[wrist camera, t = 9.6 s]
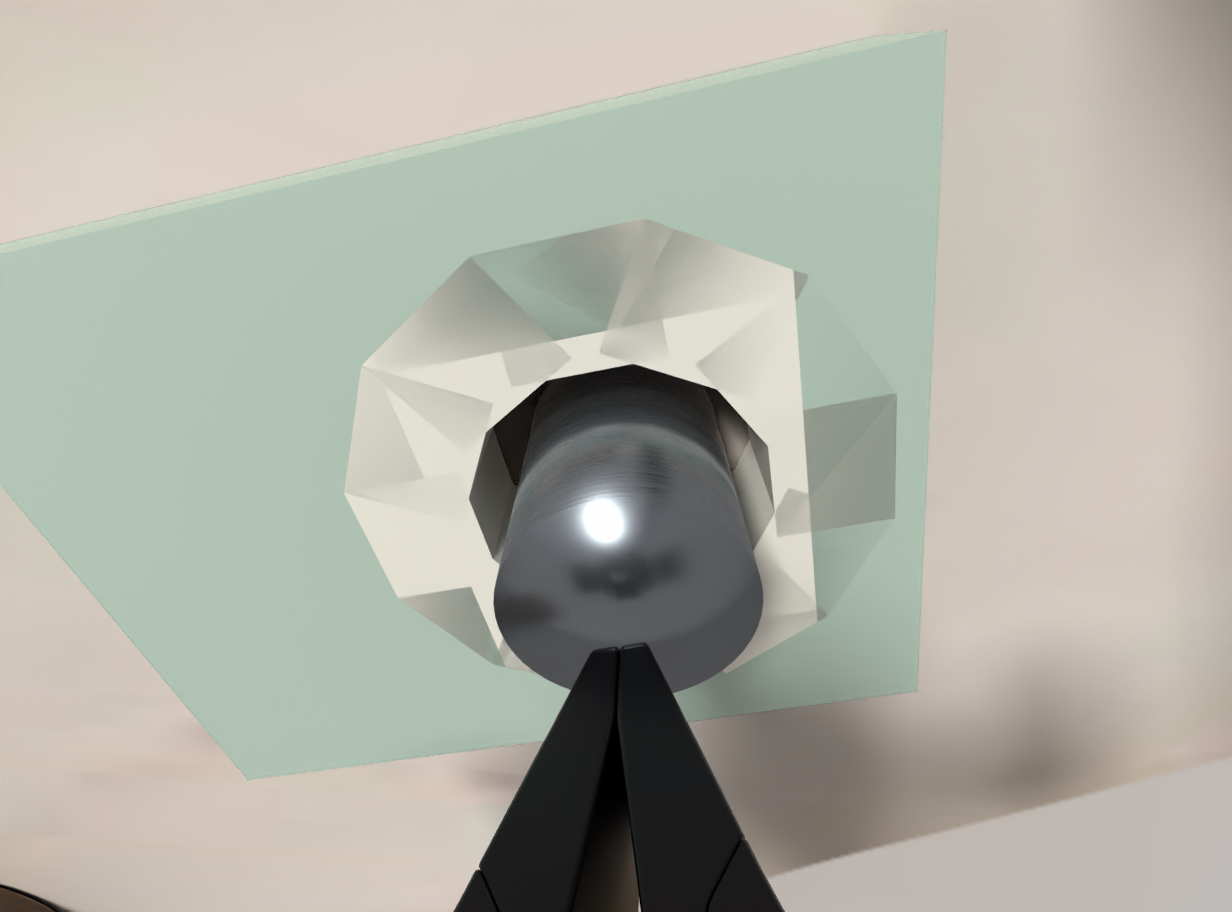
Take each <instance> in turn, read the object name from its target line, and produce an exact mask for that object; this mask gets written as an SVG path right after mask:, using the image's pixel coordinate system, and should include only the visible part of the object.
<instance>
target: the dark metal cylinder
mask: <svg viewBox="0 0 1232 912" xmlns="http://www.w3.org/2000/svg"><path fill="white" fill-rule="evenodd" d="M493 606H494V612H495V618H496V621H497V624H498V628H499V630H500V632H501V634H502V636H503V638H504V640H505V642H506V643H507V645H508V646H509V647H510V649H511V650H512V652H513V653H514V654H515V655H516V656H517V657H518V658H519V659H520V660H521V661H522V662H523V663H524V664H525V665H526V666H528V667H529V668H530V669H531V670H533V671H534V672H536V673H537V674H539V675H540V676H542V677H543V678H545V679H547V680H549V681H551V682H553V683H555V684H557V685H559V686H561V687H564V688H567V689H569V690H571V689H572V687H573V685H574V683H575V681H576V679H577V677H578V676H579V674H580V672H581V670H582V668H583V666H584V664H585V662H586V660H587V658H588V657H589V655H590V653H591V652H592V651H593V650H595V649H601V648H608V647H618V648H619V649H621V647H622V646H623V645H628V644H635V643H642V642H645V643H647V644H648V645H649V647H650V649H651V651H652V653H653V655H654V657H655V659H656V661H657V663H658V665H659V667H660V669H661V671H662V673H663V675H664V677H665V679H666V681H667V683H668V685H669V687H670V689H671V691H672V693H675V692H679V691H682V690H685V689H688V688H690V687H693V686H695V685H698V684H700V683H702V682H704V681H706V680H708V679H710V678H711V677H713V676H714V675H716V674H718V673H719V672H721V671H722V670H724V669H725V668H726V667H727V666H728V665H730V664H731V663H732V662H733V661H734V660H735V659H736V658H737V657H738V656H739V655H740V654H741V653H742V652H743V651H744V649H745V648H746V647H747V645H748V644H749V642H750V641H751V640H752V638H753V636H754V634H755V632H756V630H757V628H758V625H759V622H760V619H761V616H762V609H763V587H762V583H761V578H760V574H759V571H758V567H757V563H756V560H755V556H754V553H753V549H752V546H751V542H750V538H749V535H748V531H747V528H746V524H745V520H744V517H743V513H742V510H741V506H740V503H739V499H738V495H737V492H736V488H735V485H734V481H733V478H732V474H731V470H730V467H729V463H728V460H727V456H726V452H725V449H724V445H723V442H722V438H721V435H720V431H719V427H718V424H717V420H716V417H715V413H714V410H713V406H712V403H711V401H710V398H709V395H708V393H707V392H706V390H705V388H704V387H703V385H701V384H698V383H695V382H691V381H688V380H685V379H682V378H678V377H675V376H672V375H668V374H665V373H662V372H659V371H655V370H652V369H649V368H646V367H642V366H639V365H636V364H629V365H624V366H619V367H614V368H609V369H604V370H598V371H593V372H588V373H583V374H578V375H573V376H567V377H562V378H557V379H552V380H550V381H549V383H548V384H547V385H546V387H545V388H544V390H543V392H542V394H541V396H540V398H539V400H538V403H537V406H536V409H535V414H534V418H533V422H532V427H531V431H530V435H529V440H528V444H527V448H526V453H525V457H524V461H523V466H522V470H521V475H520V479H519V483H518V488H517V492H516V496H515V501H514V505H513V509H512V514H511V518H510V522H509V527H508V531H507V535H506V540H505V544H504V548H503V553H502V557H501V561H500V566H499V570H498V574H497V579H496V584H495V588H494V600H493Z"/></svg>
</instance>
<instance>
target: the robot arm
mask: <svg viewBox="0 0 1232 912" xmlns="http://www.w3.org/2000/svg"><path fill="white" fill-rule="evenodd" d="M479 868H480V870H481V871H480V870H476V871H475V872H474V874H473V876H472V878H471V880H470V882H469V884H468V886H467V888H466V890H465V891H464V893H463V895H462V897H461V899H460V901H459V903H458V904H457V906H456V908H455V910H454V912H638V905H639V900H640V907H641V912H785V911H784V909H783V908H782V906H781V904H780V902H779V901H778V899H777V897H776V895H775V893H774V891H773V889H772V888H771V886H770V884H769V882H768V880H767V878H766V876H765V875H764V873H763V871H762V869H761V867H760V865H759V863H758V861H757V859H756V857H755V855H754V853H753V851H752V849H751V847H750V845H749V843H748V842H747V841H746V840H745V837H744V834H743V832H742V830H741V828H740V826H739V824H738V822H737V820H736V818H735V816H734V814H733V812H732V810H731V808H730V806H729V804H728V802H727V800H726V798H725V796H724V794H723V792H722V790H721V788H720V786H719V784H718V782H717V780H716V778H715V776H714V774H713V772H712V770H711V768H710V766H709V764H708V762H707V760H706V758H705V756H704V754H703V752H702V750H701V748H700V746H699V744H698V742H697V740H696V738H695V736H694V734H693V732H692V730H691V728H690V726H689V724H688V722H687V720H686V718H685V716H684V714H683V712H682V711H681V709H680V707H679V705H678V703H677V701H676V699H675V697H674V695H673V693H672V691H671V689H670V687H669V685H668V683H667V681H666V679H665V677H664V675H663V673H662V671H661V669H660V667H659V665H658V663H657V661H656V659H655V657H654V655H653V653H652V651H651V649H650V647H649V645H648V644H647V643H645V642H642V643H635V644H628V645H623V646H622V647H621V649H619V648H618V647H608V648H601V649H595V650H593V651H592V652H591V653H590V655H589V657H588V658H587V660H586V662H585V664H584V666H583V668H582V670H581V672H580V674H579V676H578V677H577V679H576V681H575V683H574V685H573V687H572V689H571V691H570V693H569V695H568V696H567V698H566V700H565V702H564V704H563V706H562V708H561V710H560V712H559V713H558V715H557V717H556V719H555V721H554V723H553V725H552V727H551V729H550V731H549V732H548V734H547V736H546V738H545V740H544V742H543V744H542V746H541V748H540V750H539V751H538V753H537V755H536V757H535V759H534V761H533V763H532V765H531V767H530V769H529V770H528V772H527V774H526V776H525V778H524V780H523V782H522V784H521V786H520V788H519V789H518V791H517V793H516V795H515V797H514V799H513V801H512V803H511V805H510V806H509V808H508V810H507V812H506V814H505V816H504V818H503V820H502V822H501V824H500V825H499V827H498V829H497V831H496V833H495V835H494V837H493V839H492V841H491V843H490V844H489V846H488V848H487V850H486V852H485V854H484V856H483V858H482V860H481V862H480V864H479Z"/></svg>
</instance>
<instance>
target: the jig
mask: <svg viewBox="0 0 1232 912" xmlns="http://www.w3.org/2000/svg"><path fill="white" fill-rule="evenodd" d="M946 32H947V30H941V31H930V32H918V33H907V34H895V35H883V36H873V37H869V38H865V39H860V40H856V41H852V42H848V43H844V44H839V45H835V46H831V47H827V48H823V49H819V50H814V51H810V52H806V53H802V54H798V55H793V56H789V57H785V58H781V59H777V60H772V61H768V62H764V63H760V64H756V65H751V66H747V67H743V68H739V69H735V70H730V71H726V72H722V73H718V74H714V75H709V76H705V77H701V78H697V79H693V80H688V81H684V82H680V83H676V84H672V85H667V86H663V87H659V88H655V89H651V90H646V91H642V92H638V93H634V94H630V95H625V96H621V97H617V98H613V99H609V100H604V101H600V102H596V103H592V104H588V105H583V106H579V107H575V108H571V109H567V110H562V111H558V112H554V113H550V114H546V115H541V116H537V117H533V118H529V119H525V120H520V121H516V122H512V123H508V124H504V125H499V126H495V127H491V128H487V129H483V130H478V131H474V132H470V133H466V134H462V135H457V136H453V137H449V138H445V139H441V140H436V141H432V142H428V143H424V144H420V145H415V146H411V147H407V148H403V149H399V150H395V151H390V152H386V153H382V154H378V155H374V156H369V157H365V158H361V159H357V160H353V161H348V162H344V163H340V164H336V165H332V166H327V167H323V168H319V169H315V170H311V171H306V172H302V173H298V174H294V175H290V176H285V177H281V178H277V179H273V180H269V181H264V182H260V183H256V184H252V185H248V186H243V187H239V188H235V189H231V190H227V191H222V192H218V193H214V194H210V195H206V196H201V197H197V198H193V199H189V200H185V201H180V202H176V203H172V204H168V205H164V206H159V207H155V208H151V209H147V210H143V211H138V212H134V213H130V214H126V215H122V216H117V217H113V218H109V219H105V220H101V221H96V222H92V223H88V224H84V225H80V226H75V227H71V228H67V229H63V230H59V231H54V232H50V233H46V234H42V235H38V236H33V237H29V238H25V239H21V240H17V241H12V242H8V243H4V244H0V485H1V486H2V487H3V489H4V490H5V491H6V492H7V493H8V495H9V496H10V497H11V498H12V499H13V501H14V502H15V503H16V504H17V505H18V507H19V508H20V509H21V510H22V511H23V513H24V514H25V515H26V516H27V517H28V518H29V520H30V521H31V522H32V523H33V524H34V526H35V527H36V528H37V529H38V530H39V532H40V533H41V534H42V535H43V536H44V538H45V539H46V540H47V541H48V542H49V544H50V545H51V546H52V547H53V548H54V550H55V551H56V552H57V553H58V554H59V555H60V557H61V558H62V559H63V560H64V561H65V563H66V564H67V565H68V566H69V567H70V569H71V570H72V571H73V572H74V573H75V575H76V576H77V577H78V578H79V579H80V581H81V582H82V583H83V584H84V585H85V586H86V588H87V589H88V590H89V591H90V592H91V594H92V595H93V596H94V597H95V598H96V600H97V601H98V602H99V603H100V604H101V606H102V607H103V608H104V609H105V610H106V612H107V613H108V614H109V615H110V616H111V617H112V619H113V620H114V621H115V622H116V623H117V625H118V626H119V627H120V628H121V629H122V631H123V632H124V633H125V634H126V635H127V637H128V638H129V639H130V640H131V641H132V643H133V644H134V645H135V646H136V647H137V649H138V650H139V651H140V652H141V653H142V654H143V656H144V657H145V658H146V659H147V660H148V662H149V663H150V664H151V665H152V666H153V668H154V669H155V670H156V671H157V672H158V674H159V675H160V676H161V677H162V678H163V680H164V681H165V682H166V683H167V684H168V685H169V687H170V688H171V689H172V690H173V691H174V693H175V694H176V695H177V696H178V697H179V699H180V700H181V701H182V702H183V703H184V705H185V706H186V707H187V708H188V709H189V711H190V712H191V713H192V714H193V715H194V716H195V718H196V719H197V720H198V721H199V722H200V724H201V725H202V726H203V727H204V728H205V730H206V731H207V732H208V733H209V734H210V736H211V737H212V738H213V739H214V740H215V742H216V743H217V744H218V745H219V746H220V748H221V749H222V750H223V751H224V752H225V753H226V755H227V756H228V757H229V758H230V759H231V761H232V762H233V763H234V764H235V765H236V767H237V768H238V769H239V770H240V771H241V773H242V774H243V775H244V776H245V777H246V779H247V780H253V779H261V778H268V777H276V776H283V775H291V774H298V773H306V772H313V771H321V770H329V769H336V768H344V767H351V766H359V765H366V764H374V763H381V762H389V761H396V760H404V759H411V758H419V757H427V756H434V755H442V754H449V753H457V752H464V751H472V750H479V749H487V748H494V747H502V746H509V745H517V744H525V743H532V742H540V741H544V740H545V738H546V736H547V734H548V732H549V731H550V729H551V727H552V725H553V723H554V721H555V719H556V717H557V715H558V713H559V712H560V710H561V708H562V706H563V704H564V702H565V700H566V698H567V696H568V695H569V693H570V691H571V690H569V689H567V688H564V687H561V686H559V685H557V684H555V683H553V682H551V681H549V680H547V679H545V678H543V677H542V676H540V675H539V674H537V673H536V672H534V671H533V670H531V669H530V668H529V667H528V666H526V665H525V664H524V663H523V662H522V661H521V660H520V659H519V658H518V657H517V656H516V655H515V654H514V653H513V652H512V650H511V649H510V647H509V646H508V645H507V643H506V642H505V640H504V638H503V636H502V634H501V632H500V630H499V628H498V624H497V621H496V618H495V612H494V606H493V600H494V588H495V584H496V579H497V574H498V570H499V566H500V561H501V557H502V553H503V548H504V544H505V540H506V535H507V531H508V527H509V522H510V518H511V514H512V509H513V505H514V501H515V496H516V492H517V488H518V486H516V485H515V484H514V483H513V482H512V481H511V478H510V475H509V472H508V469H507V466H506V463H505V461H504V458H503V455H502V452H501V449H500V446H499V443H498V441H497V438H496V435H495V432H494V429H493V426H494V425H495V424H496V423H497V422H499V421H500V420H501V419H502V418H503V417H504V416H505V415H507V414H508V413H509V412H510V411H511V410H512V409H514V408H515V407H516V406H517V405H518V404H519V403H521V402H522V401H523V400H524V399H525V398H526V397H528V396H529V395H530V394H531V393H532V392H533V391H535V390H536V389H537V388H538V387H539V386H540V385H542V384H543V383H544V382H545V381H547V380H552V379H557V378H562V377H567V376H573V375H578V374H583V373H588V372H593V371H598V370H604V369H609V368H614V367H619V366H624V365H629V364H636V365H639V366H642V367H646V368H649V369H652V370H655V371H659V372H662V373H665V374H668V375H672V376H675V377H678V378H682V379H685V380H688V381H691V382H695V383H698V384H701V385H704V386H708V387H711V388H714V389H717V390H718V391H719V392H720V393H721V394H722V396H723V397H724V398H725V399H726V400H727V401H728V402H729V403H730V404H731V406H732V407H733V408H734V409H735V410H736V411H737V412H738V413H739V414H740V416H741V417H742V418H743V419H744V420H745V421H746V422H747V425H748V433H749V441H748V443H747V445H746V447H745V449H744V451H743V453H742V455H741V457H740V459H739V461H738V463H737V465H736V467H735V469H734V471H733V473H732V478H733V481H734V485H735V488H736V492H737V495H738V499H739V503H740V506H741V510H742V513H743V517H744V520H745V524H746V528H747V531H748V535H749V538H750V542H751V546H752V549H753V553H754V556H755V560H756V563H757V567H758V571H759V574H760V578H761V583H762V587H763V609H762V616H761V619H760V622H759V625H758V628H757V630H756V632H755V634H754V636H753V638H752V640H751V641H750V642H749V644H748V645H747V647H746V648H745V649H744V651H743V652H742V653H741V654H740V655H739V656H738V657H737V658H736V659H735V660H734V661H733V662H732V663H731V664H730V665H728V666H727V667H726V668H725V669H724V670H722V671H721V672H719V673H718V674H716V675H714V676H713V677H711V678H710V679H708V680H706V681H704V682H702V683H700V684H698V685H695V686H693V687H690V688H688V689H685V690H682V691H679V692H675V693H673V695H674V697H675V699H676V701H677V703H678V705H679V707H680V709H681V711H682V712H683V714H684V716H685V718H686V720H687V722H690V721H698V720H705V719H713V718H720V717H728V716H736V715H743V714H751V713H758V712H766V711H773V710H781V709H788V708H796V707H803V706H811V705H818V704H826V703H834V702H841V701H849V700H856V699H864V698H871V697H879V696H886V695H894V694H901V693H909V692H916V691H917V685H918V662H919V640H920V617H921V595H922V572H923V550H924V527H925V505H926V482H927V460H928V437H929V415H930V392H931V370H932V347H933V325H934V302H935V280H936V257H937V235H938V212H939V190H940V167H941V145H942V122H943V100H944V77H945V55H946Z"/></svg>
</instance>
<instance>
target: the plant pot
mask: <svg viewBox="0 0 1232 912" xmlns="http://www.w3.org/2000/svg"><path fill="white" fill-rule="evenodd" d="M0 912H55V911H53V910H52V909H50V908H49V907H47V906H45V905H43V904H41V903H39V902H37V901H35V900H33V899H31V898H29V897H26V896H24V895H22V894H19V893H16V892H13V891H11V890H8V889H4V888H0Z"/></svg>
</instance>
